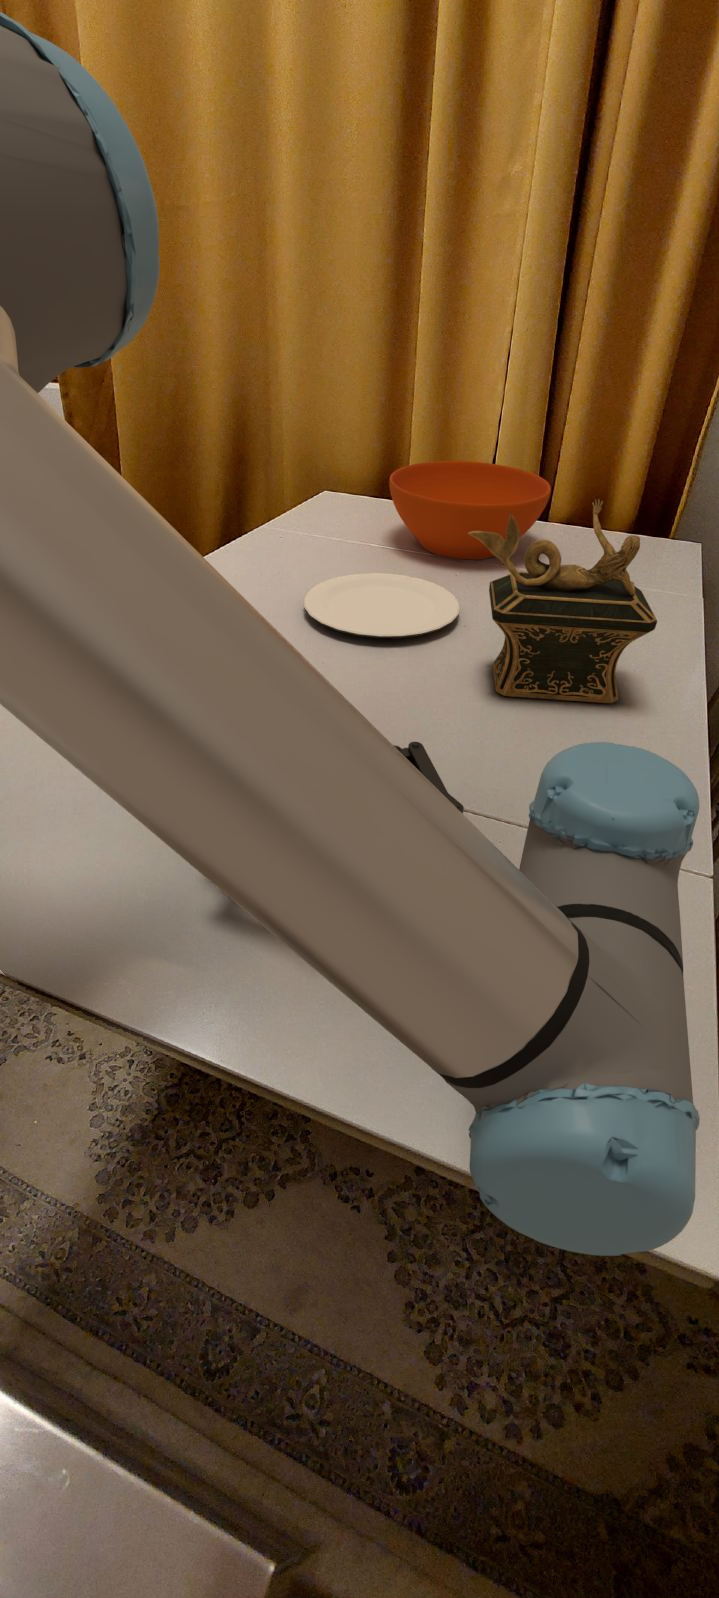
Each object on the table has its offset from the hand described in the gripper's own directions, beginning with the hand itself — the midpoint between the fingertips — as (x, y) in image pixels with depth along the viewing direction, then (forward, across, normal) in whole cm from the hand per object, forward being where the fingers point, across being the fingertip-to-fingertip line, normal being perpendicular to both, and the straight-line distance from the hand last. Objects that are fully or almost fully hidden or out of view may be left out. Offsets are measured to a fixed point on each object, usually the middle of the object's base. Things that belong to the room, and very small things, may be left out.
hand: (267, 753), depth 64 cm
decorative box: (+1, +38, -6) cm, 38 cm away
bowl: (+39, +64, -6) cm, 76 cm away
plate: (+26, +36, -6) cm, 45 cm away
